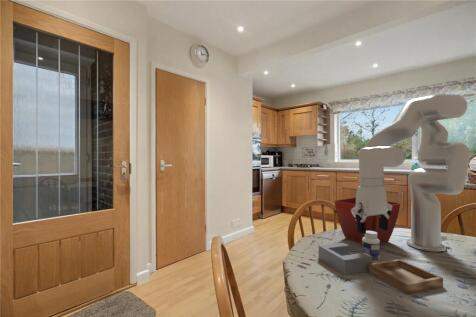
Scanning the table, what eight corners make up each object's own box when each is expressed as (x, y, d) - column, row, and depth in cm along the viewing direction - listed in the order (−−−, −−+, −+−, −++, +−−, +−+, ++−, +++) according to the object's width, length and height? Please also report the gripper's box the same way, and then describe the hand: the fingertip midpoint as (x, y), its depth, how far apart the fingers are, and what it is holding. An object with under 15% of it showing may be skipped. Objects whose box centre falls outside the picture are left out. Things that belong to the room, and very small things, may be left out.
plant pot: (375, 251, 92) (375, 207, 92) (333, 237, 108) (333, 200, 108) (401, 243, 102) (401, 203, 102) (358, 231, 118) (358, 196, 118)
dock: (342, 254, 89) (343, 242, 89) (372, 270, 76) (372, 256, 76) (318, 258, 86) (318, 245, 86) (344, 274, 73) (344, 260, 73)
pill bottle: (358, 257, 87) (359, 230, 87) (373, 256, 87) (373, 229, 87) (368, 263, 82) (368, 234, 82) (383, 263, 82) (383, 234, 82)
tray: (399, 266, 79) (399, 259, 79) (443, 286, 67) (443, 277, 67) (367, 272, 75) (367, 264, 75) (407, 294, 63) (407, 284, 63)
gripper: (381, 180, 91) (382, 225, 91) (343, 183, 86) (344, 231, 86) (400, 182, 84) (401, 231, 84) (359, 185, 79) (361, 237, 79)
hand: (372, 231), depth 85 cm, fingers open, 9 cm apart
